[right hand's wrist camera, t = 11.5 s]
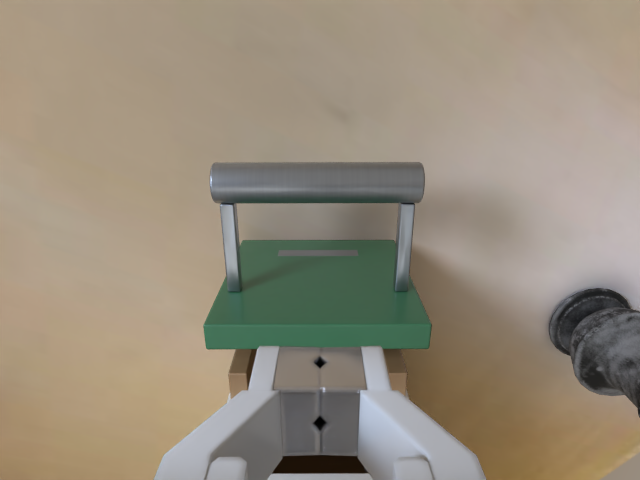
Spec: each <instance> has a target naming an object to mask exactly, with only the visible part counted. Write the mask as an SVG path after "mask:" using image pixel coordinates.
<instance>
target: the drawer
mask: <svg viewBox="0 0 640 480" xmlns="http://www.w3.org/2000/svg"><path fill="white" fill-rule="evenodd" d="M424 187H425V174H424V168H423V165H422V163H420V162H326V163H214V164H213V165H212V167H211V171H210V190H211V195H212V199H213V201H214V202H215V203H221V204H220V211H221V222H222V233H223V244H224V255H225V266H226V277H225V280H224V282H223V284H222V286H221V288H220V290H219V293H218V295H217V297H216V299H215V301H214V303H213V306H212V308H211V310H210V312H209V314H208V316H207V319H206V321H205V323H204V325H203V326H204V335H205V343H206V348H207V349H236V350H235V354H234V357H233V360H232V364H231V367H230V370H229V373H228V376H229V386H230V396H231V399H232V398H233V397H235V396H236V395H237V394H238V393H239V392H241V391H242V390H248V388H249V383H250V379H251V375H252V370H253V366H254V362H255V357H256V353H257V349H258V348H259V346H279V347H280V346H305V347H360V346H381V347H382V349H383V353H384V358H385V362H386V366H387V371H388V375H389V379H390V384H391V388H392V390H398V391H399V392H401V393H402V394H403V395H404V396H405V394H406V383H407V371H406V367H405V364H404V360H403V357H402V353H401V350H400V349H428V348H429V345H430V336H431V327H432V325H431V322H430V320H429V318H428V315H427V313H426V311H425V309H424V307H423V304H422V302H421V300H420V298H419V295H418V293H417V291H416V289H415V286H414V284H413V282H412V280H411V277H410V275H409V271H410V259H411V247H412V235H413V223H414V211H415V204H414V203H419V202H421V200H422V198H423V194H424ZM236 203H399V206H398V221H397V235H396V244H395V242H394V240H243V241H242V243H241V245H239V232H238V219H237V206H236ZM272 473H368V472H367V470H366V469H365V468H364V466H363V465H362V463H361V462H360V461H359V459H358V456H338V455H301V456H282V460H281V461H280V462H279V464H278V465H277V467H276V468H275V469H274V471H273V472H272Z"/></svg>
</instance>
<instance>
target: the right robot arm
mask: <svg viewBox="0 0 640 480" xmlns="http://www.w3.org/2000/svg"><path fill="white" fill-rule="evenodd" d="M301 455H338V456H358V459H359V461H360V462H361V463H362V465H363V466H364V468H365V469H366V470H367V472H368V473H369V474H370V476H371V477H372V479H373V480H486V477H485V475H484V472H483V470H482V467H481V465H480V463H479V460H478V458H477V455H475V454H474V453H473V452H472V451H471V450H469V449H468V448H467V447H466V446H465V445H463V444H462V443H461V442H460V441H458V440H457V439H456V438H455V437H454V436H452V435H451V434H450V433H449V432H448V431H446V430H445V429H444V428H443V427H442V426H440V425H439V424H438V423H437V422H436V421H434V420H433V419H432V418H431V417H430V416H428V415H427V414H426V413H425V412H424V411H422V410H421V409H420V408H419V407H418V406H416V405H415V404H414V403H413V402H411V401H410V400H409V399H408V398H407V397H405V396H404V395H403V394H402V393H401V392H399V391H398V390H392V388H391V384H390V379H389V375H388V371H387V366H386V362H385V358H384V353H383V349H382V347H381V346H360V347H305V346H280V347H279V346H259V348H258V349H257V353H256V357H255V362H254V366H253V370H252V375H251V379H250V383H249V388H248V390H242V391H241V392H239V393H238V394H237V395H236V396H235V397H233V398H232V399H231V400H230V401H228V402H227V403H226V404H225V405H224V406H222V407H221V408H220V409H219V410H218V411H216V412H215V413H214V414H213V415H212V416H210V417H209V418H208V419H207V420H205V421H204V422H203V423H202V424H201V425H199V426H198V427H197V428H196V429H195V430H193V431H192V432H191V433H190V434H189V435H187V436H186V437H185V438H184V439H182V440H181V441H180V442H179V443H178V444H176V445H175V446H174V447H173V448H172V449H170V450H169V451H168V452H167V453H166V454H164V456H163V458H162V461H161V463H160V465H159V468H158V470H157V473H156V475H155V477H154V480H267V479H268V478H269V476H270V475H271V473H272V472H273V471H274V469H275V468H276V467H277V465H278V464H279V462H280V461H281V460H282V456H301Z"/></svg>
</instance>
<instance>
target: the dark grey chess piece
mask: <svg viewBox="0 0 640 480" xmlns="http://www.w3.org/2000/svg"><path fill="white" fill-rule="evenodd" d="M549 334H550V338H551V341H552V342H553V344H554V345H555V347H556V348H557V349H559V350H560V351H561V352H563V353H565V354H567V355H570V356H571V360H572V364H573V368H574V373H575V376H576V377H577V379H578V380H579V382H580V383H581V384H582V385H583V386H584V387H585V388H587V389H588V390H589V391H592V392H595V393H597V394H600V395H608V396H617V395H626V396H627V397H628V398H629V400H630V401H631V402H632V403H633V404H634V405H635V406H636V407H637V408H638V415H639V417H640V312H639V311H636V310H631V309H630V306H629V304H628V303H627V301H626V300H625V299H624V298H623V297H622V296H621V295H620V294H618V293H616V292H614V291H612V290H609V289H601V288H597V289H588V290H585V291H582V292H579V293H576V294H575V295H573V296H571V297H569V298H568V299H567V300H565V301H564V302H563V303H562V304H561V305H560V306H559V307H558V308H557V310H556V311H555V313H554V314H553V316H552V319H551V321H550V327H549Z"/></svg>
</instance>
